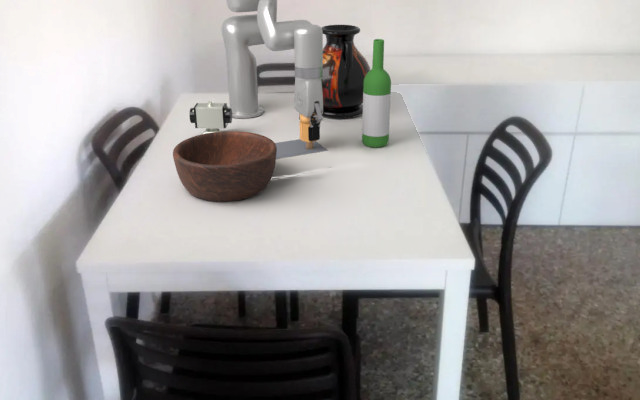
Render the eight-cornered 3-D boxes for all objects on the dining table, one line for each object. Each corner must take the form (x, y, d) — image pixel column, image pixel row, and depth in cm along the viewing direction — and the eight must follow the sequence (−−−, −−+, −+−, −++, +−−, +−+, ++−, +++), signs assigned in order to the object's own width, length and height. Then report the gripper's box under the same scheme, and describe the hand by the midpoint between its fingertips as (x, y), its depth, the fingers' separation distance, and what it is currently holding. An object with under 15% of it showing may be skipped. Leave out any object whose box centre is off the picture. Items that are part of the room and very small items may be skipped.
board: (253, 150, 182) (252, 131, 180) (311, 141, 189) (310, 122, 186) (267, 164, 172) (267, 144, 170) (328, 154, 179) (328, 135, 177)
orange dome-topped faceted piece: (297, 137, 180) (297, 113, 177) (314, 134, 182) (314, 110, 179) (304, 142, 176) (304, 118, 173) (322, 140, 178) (321, 115, 175)
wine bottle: (373, 150, 182) (377, 43, 169) (356, 143, 187) (358, 39, 175) (394, 144, 186) (399, 40, 173) (376, 137, 192) (380, 36, 179)
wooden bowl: (180, 213, 146) (176, 171, 141) (173, 172, 168) (169, 135, 163) (287, 200, 152) (286, 160, 147) (267, 163, 174) (265, 126, 169)
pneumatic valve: (231, 143, 187) (229, 103, 182) (191, 143, 187) (188, 103, 182) (234, 137, 192) (231, 98, 187) (195, 137, 192) (191, 98, 187)
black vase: (299, 106, 221) (298, 23, 209) (358, 101, 227) (359, 20, 215) (318, 125, 202) (317, 35, 191) (381, 119, 208) (384, 31, 196)
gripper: (284, 67, 177) (285, 130, 184) (308, 81, 163) (309, 148, 170) (308, 64, 180) (309, 126, 187) (335, 78, 166) (335, 144, 173)
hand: (309, 136), depth 179 cm, fingers closed on orange dome-topped faceted piece, 5 cm apart
